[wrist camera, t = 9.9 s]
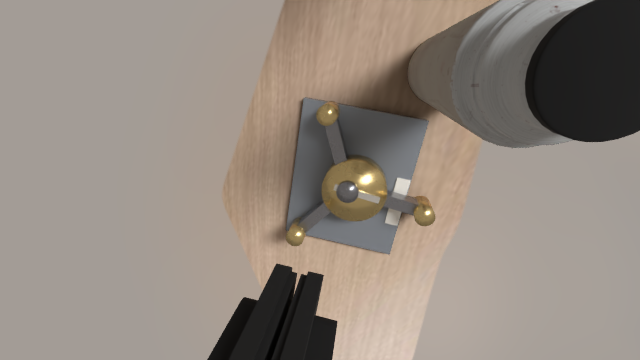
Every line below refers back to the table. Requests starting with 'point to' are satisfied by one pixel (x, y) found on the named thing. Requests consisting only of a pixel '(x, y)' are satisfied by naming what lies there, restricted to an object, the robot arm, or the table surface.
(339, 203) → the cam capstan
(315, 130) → the board
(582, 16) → the thermos bottle
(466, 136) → the table surface
